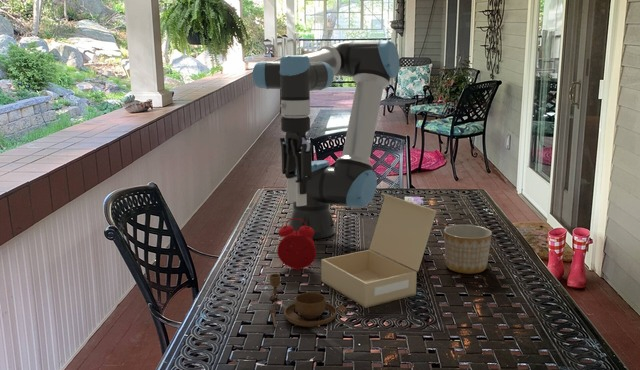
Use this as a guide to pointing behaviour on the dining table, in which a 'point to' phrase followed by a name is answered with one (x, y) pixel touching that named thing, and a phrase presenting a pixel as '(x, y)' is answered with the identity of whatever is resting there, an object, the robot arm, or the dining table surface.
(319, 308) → the place setting
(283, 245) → the alarm clock
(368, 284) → the box
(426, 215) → the lid
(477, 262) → the planter
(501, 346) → the dining table surface
